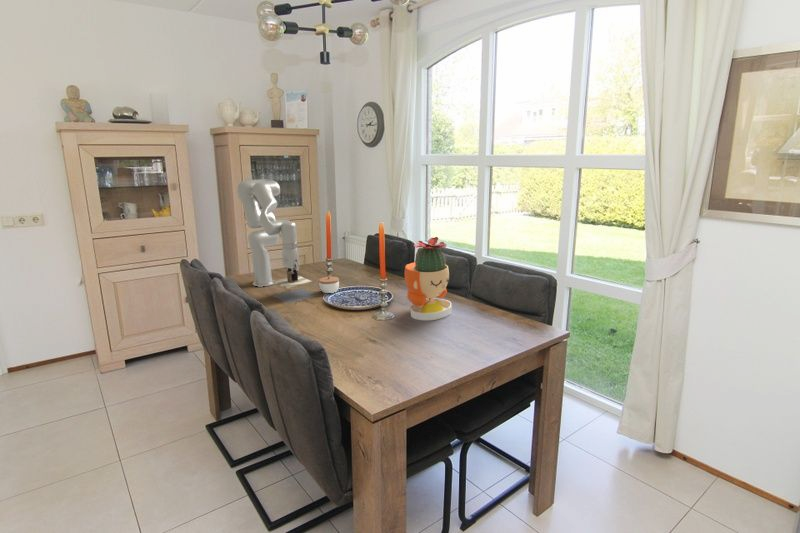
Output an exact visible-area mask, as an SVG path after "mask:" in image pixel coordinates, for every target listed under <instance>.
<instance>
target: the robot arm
mask: <svg viewBox="0 0 800 533" xmlns="http://www.w3.org/2000/svg"><path fill="white" fill-rule="evenodd" d="M236 190H237V192H236V193H237V195H238V198H239V199H240V202H241V204H242V206H243V210H244V215H245V219H246V223H247V226H248V228H250V229H253V230H254V229H260V230H255V231H251V232H250V233H249V234H248V237H247V240H248V244H249V248H250V252H251V257H252V258H251V259H252V267H253V274H254V281H253V282H252V286H253V285H254V286H253V287H255V286H258V287H257V288H264V287H263V286H265V287H269V286H272V285H274V284H275V283H273V281H276V280H274V279H273V278H272V268H271V267H272V266H271V259H270V253H269V251H268V250H267V249H266V248H265V247H269V246H273V245H277V244H278V243H279V242H280V235H281V241H282V242H281V243H282V253H281V255H282V266H284V267H285V269H286V273H287V272H290V271H292V281H296V280H298V274H297V273H299V270H300V256H299V252H298V233H297V223H295V221H290V220H289V219H277V220H276V217H275V214H274V213H273V211H274V210H275V209H277V207H278V201H277V200H276V197H278V196H279V195H280V193H281V187H280V184H279V183H278V182H277V181H275V180H273V179H272V180H271V179H268V178H266V179H265V178H262V179H261V178H260V179H259V178H258V179H247V180H246V179H245V180H242V181H239V183H238V184H237V188H236ZM254 196H255V197H254ZM261 228H262V229H261Z"/></svg>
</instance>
